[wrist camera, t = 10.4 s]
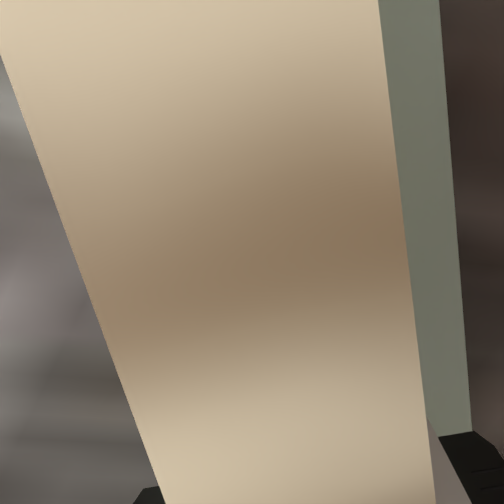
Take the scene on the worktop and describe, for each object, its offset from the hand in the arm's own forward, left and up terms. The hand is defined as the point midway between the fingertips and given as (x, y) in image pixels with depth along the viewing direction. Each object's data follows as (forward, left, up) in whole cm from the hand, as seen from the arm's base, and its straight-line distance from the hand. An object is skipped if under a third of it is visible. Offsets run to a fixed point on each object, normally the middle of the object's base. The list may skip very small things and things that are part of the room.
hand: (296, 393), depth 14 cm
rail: (0, 0, +2) cm, 2 cm away
